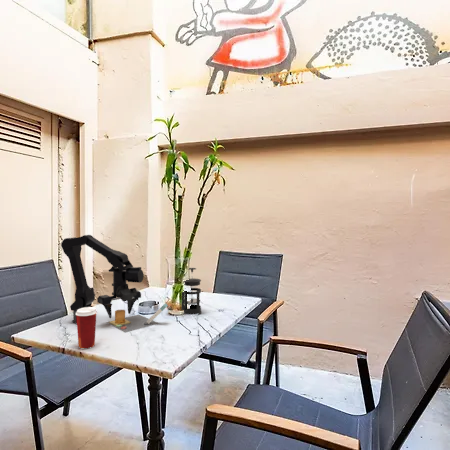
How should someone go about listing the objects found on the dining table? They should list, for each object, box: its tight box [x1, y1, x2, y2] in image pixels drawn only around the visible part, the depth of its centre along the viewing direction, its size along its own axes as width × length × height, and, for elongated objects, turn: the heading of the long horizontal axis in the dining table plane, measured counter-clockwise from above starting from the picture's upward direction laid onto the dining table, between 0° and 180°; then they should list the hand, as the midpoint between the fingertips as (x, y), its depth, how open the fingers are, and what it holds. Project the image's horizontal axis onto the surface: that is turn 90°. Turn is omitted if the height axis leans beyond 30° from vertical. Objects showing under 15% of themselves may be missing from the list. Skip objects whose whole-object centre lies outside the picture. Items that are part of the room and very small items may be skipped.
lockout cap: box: [114, 309, 126, 323], centre depth 154 cm, size 4×4×5 cm
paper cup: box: [75, 306, 98, 349], centre depth 129 cm, size 8×8×14 cm
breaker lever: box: [146, 303, 169, 324], centre depth 153 cm, size 2×3×11 cm
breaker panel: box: [105, 314, 160, 333], centre depth 154 cm, size 17×18×1 cm
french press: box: [181, 267, 202, 316], centre depth 171 cm, size 12×9×23 cm
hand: (120, 315), depth 154 cm, fingers open, 9 cm apart
